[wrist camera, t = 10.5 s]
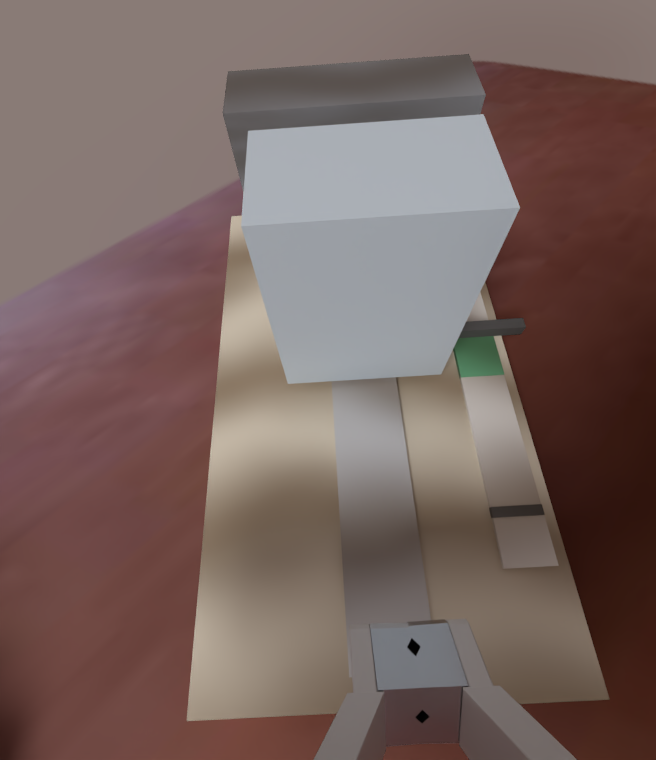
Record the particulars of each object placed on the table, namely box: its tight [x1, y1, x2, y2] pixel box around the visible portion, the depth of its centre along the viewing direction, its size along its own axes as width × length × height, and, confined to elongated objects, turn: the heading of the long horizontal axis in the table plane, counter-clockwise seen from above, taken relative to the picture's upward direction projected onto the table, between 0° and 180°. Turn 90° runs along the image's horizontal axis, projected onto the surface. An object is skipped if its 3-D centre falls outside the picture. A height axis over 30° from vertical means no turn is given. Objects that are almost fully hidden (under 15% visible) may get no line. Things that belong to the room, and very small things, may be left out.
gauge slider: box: [241, 114, 526, 384], centre depth 15 cm, size 6×11×9 cm, turn 93°
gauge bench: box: [187, 54, 610, 721], centre depth 15 cm, size 24×14×10 cm, turn 3°
